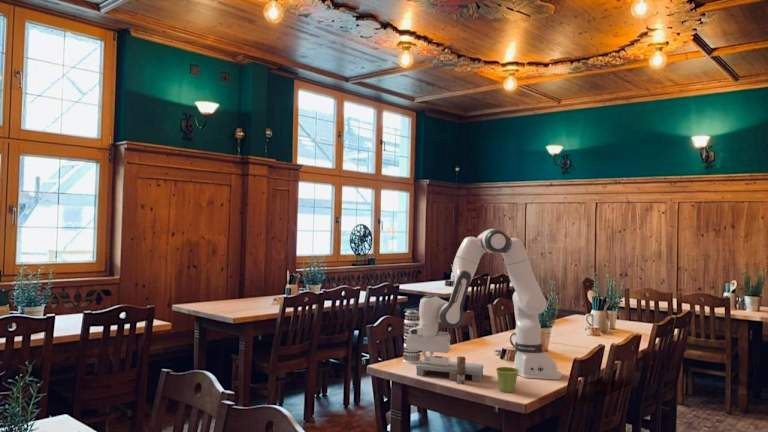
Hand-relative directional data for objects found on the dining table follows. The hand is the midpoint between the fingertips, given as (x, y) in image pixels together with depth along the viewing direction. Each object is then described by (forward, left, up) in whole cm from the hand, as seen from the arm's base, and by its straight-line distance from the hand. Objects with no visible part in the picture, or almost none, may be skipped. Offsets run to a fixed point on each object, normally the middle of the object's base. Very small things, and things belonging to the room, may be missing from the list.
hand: (427, 360), depth 262 cm
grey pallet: (-10, 0, -5) cm, 12 cm away
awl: (-17, +12, -5) cm, 22 cm away
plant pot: (-37, +16, -6) cm, 41 cm away
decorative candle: (+13, -18, -6) cm, 23 cm away
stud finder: (-6, 0, -1) cm, 6 cm away
